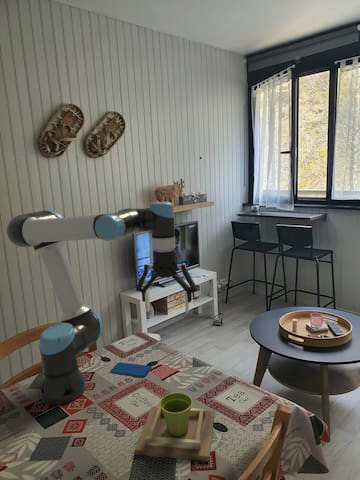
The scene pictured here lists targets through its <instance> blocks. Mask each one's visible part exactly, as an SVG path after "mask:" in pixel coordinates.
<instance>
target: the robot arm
mask: <svg viewBox="0 0 360 480" xmlns="http://www.w3.org/2000/svg"><path fill="white" fill-rule="evenodd" d="M137 232H147V233H148V232H151V243H152V245H151V246H152V247H151V248H152V250H153V251H152V259H153V263H149V262H146V263H145V264H144V265H143V273H142V275H141V277H140V279H139V280H138V284H137V286H136V288H135V290H136V292H141V298H142V299H141V301H142V302H144V303H145V312H146V313H148V312H149V311H150V310H151V305H150V304H151V303H150V290H148V289H149V287H151V285H152V284H153V282H154V281H155V280H156V279H157V278H158V277H159V278H161V279H163V278H167V279H170V278H172V279H174V280H175V281H176V282H177V283H178V285H179V286H180V287H181V288H182V289H183V290H184V291H185V292H184V303H185V304H184V305H185V306H184V307H185V308H184V309H185V313H186V314H188V313H189V310H190V303H192V297H193V296H192V293H195V292H197V289H198V288H197V286H196V283H195V281H194V280H193V278H192V276H191V274H190V272H189V271H188V267H187V263H185V262H182V263H180V264H179V263H177V252H176V249H175V248H176V234H175V233H176V232H175V212H174V205H173V203H172V202H170V201H159V202H156V201H154V202H151V203H150V205H149V207H148V208H130V207H129V208H121V209H119V210H118V211H117V212H113V213H102V214H91V215H90V214H89V215H80V216H67V217H63V215H61V214H60V213H59V212H57V211H55V210H41V211H35V212H28V213H22V214H19V215H17V216H14V217H12V219H10V221H9V222H8V223H7V226H6V234H7V238H8V240H9V241H10V242H11V243H12V244H13V245H15V246H16V247H19V248H28V247H32V248H33V250H34V252H36V253H38V254H40V256H41V258H42V259H41V260H42V262H43V264H44V267H45V270H46V272H47V275H48V277H49V280H50V283H51V285H52V289H53V291H54V294H55V296H56V299H57V301H58V304H59V306H60V309H61V311H62V316H61V317H60V323H59V322H58V323H56V324H55V325H54V324H52V325H50V326H48V327H47V328H46V329H44V330H43V331H42V332H41V333H40V335H39V345H38V346H39V347H38V348H39V351H40V359H41V365H42V373H43V377H42V382H41V386H40V390H39V391H40V392H39V395H40V399H41V401H42V402H43V403H45V404H47V405H53V406H55V405H64V404H67V403H70V402H72V401H75V400H76V399H78V398H79V397H81V396H82V395H83V394H84V392H85V390H86V381H85V378H84V376H83V374H82V372H81V370H80V369H79V363H78V356H79V355H80V354H81V353H83V352H84V351H85V350H86V349H88V348H89V347H90V346H91V345H93V344H95V343H96V342H97V340H99V339H100V337H102V334H103V331H104V323H103V319H102V318H101V316H100V315H99V314H97V313H96V311H92V308H91V306H88V305H86V304H85V301H84V298H83V296H82V293H81V290H80V288H79V285H78V282H77V279H76V276H75V274H74V271H73V268H72V266H71V263H70V260H69V258H68V255H67V252H66V250H65V244H66V242H69V241H70V242H71V241H84V240H85V241H86V240H103V241H105V242H106V241H107V242H108V241H109V242H110V241H115V240H118V239H120V238H122V237H125V236H127V235H131V234H133V233H137ZM178 269H179V271H180V272H182V276H184V278H185V280H186V281H185V280H184V279H183V277H181V276H180V275H179V273H178V271H177V270H178ZM151 270H153V271H154V274H153V275H152V277H150V279H149V280H148V281H147V283H146V284H145V286H144V287H143V285H144V283H145V281H146V278H147V276H148V274H149V272H150V271H151Z"/></svg>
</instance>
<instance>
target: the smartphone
mask: <svg viewBox="0 0 360 480" xmlns="http://www.w3.org/2000/svg"><path fill="white" fill-rule="evenodd" d="M152 368H153V367H152V366H151V365H145V364H137V363H127V362H122V361H121V362H117V363H116V364H115V365H114V366H113V367H112V368H111V369H110V371H109V373H111V374H118V375H123V376H128V377H129V376H130V377H137V378H146V377H147V376H148V374H149V373H150V372H151V370H153V369H152Z"/></svg>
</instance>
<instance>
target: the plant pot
mask: <svg viewBox="0 0 360 480" xmlns="http://www.w3.org/2000/svg"><path fill="white" fill-rule="evenodd" d="M193 404H194V403H193V398H192V397H191V396H190V395H189V394H187V393H184V392H171V393H168V394H166V395H164V396H162V398H160V401H159V406H160V408H161V409H162V411H163V413H164V417H165V421H166V426H167V431H168V432H169V434H171V435H175V436H181V435H183V434H185V433H186V432H187V430H188V425H189V414H190V409H191V408H193Z"/></svg>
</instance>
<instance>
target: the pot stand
mask: <svg viewBox="0 0 360 480" xmlns="http://www.w3.org/2000/svg"><path fill="white" fill-rule="evenodd" d="M214 422H215V411H214V410H206V408H193V407H191V409H190V414H189V425H188V430H187V432H186V433H185V434H183V435H181V436H175V435H171V434H169V432H168V431H167V426H166V421H165V417H164V413H163V411H162V409H161V408H160V405H157V406H151V407H150V410H149V412H148V414H147V417H146V420H145V422H144V425H143V428H142V431H141V434H140V436H139V439H138V441H137V444H136V446H135V449H134V452H135V456H148V457H157V458H158V457H159V458H167V459H168V458H169V459H179V460H181V459H182V460H191V461H200V462H201V461H202V462H210V461H211V460H210V458H211V450H212V441H213V431H214Z"/></svg>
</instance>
